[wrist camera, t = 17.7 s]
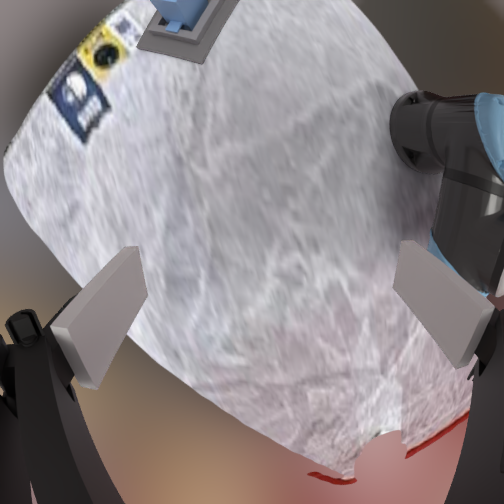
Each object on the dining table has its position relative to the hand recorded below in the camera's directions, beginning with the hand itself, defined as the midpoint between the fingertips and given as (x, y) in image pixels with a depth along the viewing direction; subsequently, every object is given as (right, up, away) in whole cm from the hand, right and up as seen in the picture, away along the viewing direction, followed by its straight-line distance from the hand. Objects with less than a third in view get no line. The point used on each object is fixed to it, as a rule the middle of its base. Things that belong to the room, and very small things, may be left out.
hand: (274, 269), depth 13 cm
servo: (-11, +38, +17) cm, 43 cm away
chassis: (-11, +39, +18) cm, 44 cm away
